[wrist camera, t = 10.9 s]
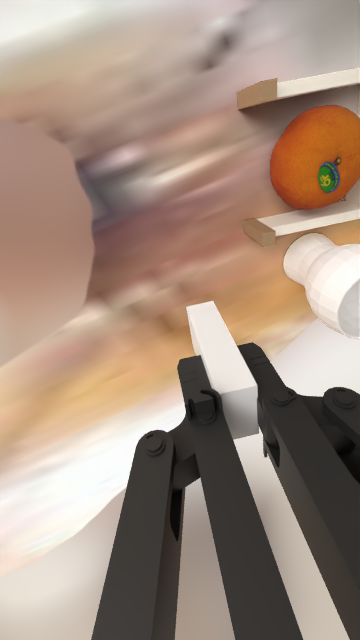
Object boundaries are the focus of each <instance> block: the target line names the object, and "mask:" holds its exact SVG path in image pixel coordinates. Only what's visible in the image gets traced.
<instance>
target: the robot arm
mask: <svg viewBox="0 0 360 640" xmlns="http://www.w3.org/2000/svg"><path fill="white" fill-rule="evenodd" d="M186 309H187V314H188V320H189V326H190V331H191V337H192V342H193V347H194V351H195V354H196V356H193V357H189V358H184V359H180V361H179V364H178V367H177V369H178V374H179V379H180V383H181V388H182V393H183V397H184V402H185V408H186V415H185V418H184V420H183V421H182V423H181V424H180V425H179V426H177V427H176V428H174V429H173V430H171V431H169V432H165V431H162V430H154V431H150V432H148V433H147V434H145V435H144V436H143V437H142V438H141V439H140V440H139V442H138V444H137V446H136V450H135V454H134V459H133V463H132V467H131V471H130V476H129V480H128V484H127V489H126V493H125V498H124V502H123V506H122V510H121V514H120V519H119V523H118V527H117V532H116V536H115V540H114V544H113V549H112V553H111V558H110V562H109V567H108V570H107V575H106V579H105V583H104V587H103V592H102V596H101V600H100V604H99V609H98V613H97V617H96V622H95V626H94V630H93V635H92V639H91V640H175V627H176V613H177V599H178V585H179V571H180V556H181V541H182V528H183V514H184V499H185V487H186V486H188V485H189V484H191V483H192V482H194V481H196V480H197V479H199V478H200V477H201V482H202V487H203V491H204V496H205V501H206V505H207V510H208V515H209V519H210V524H211V528H212V533H213V538H214V542H215V547H216V552H217V556H218V561H219V566H220V570H221V575H222V579H223V584H224V589H225V594H226V598H227V603H228V608H229V612H230V617H231V622H232V626H233V631H234V635H235V640H303V638H302V635H301V632H300V629H299V626H298V624H297V621H296V618H295V615H294V612H293V609H292V606H291V603H290V601H289V598H288V595H287V592H286V589H285V586H284V584H283V581H282V578H281V575H280V572H279V570H278V566H277V564H276V561H275V558H274V555H273V552H272V549H271V547H270V544H269V541H268V538H267V535H266V532H265V530H264V527H263V524H262V521H261V518H260V515H259V512H258V510H257V507H256V504H255V501H254V498H253V496H252V493H251V490H250V487H249V484H248V481H247V478H246V475H245V473H244V470H243V467H242V464H241V461H240V459H239V456H238V453H237V450H236V447H235V444H234V441H233V439H237V438H242V437H246V436H250V435H254V434H258V433H259V427H260V429H261V431H262V434H263V451H264V456H265V457H267V453H268V455H269V457H270V460H271V462H272V464H273V466H274V469H275V471H276V473H277V476H278V478H279V480H280V482H281V484H282V487H283V489H284V491H285V494H286V496H287V498H288V501H289V503H290V505H291V507H292V510H293V512H294V514H295V516H296V519H297V521H298V523H299V526H300V528H301V530H302V532H303V534H304V537H305V539H306V541H307V544H308V546H309V548H310V550H311V553H312V555H313V557H314V560H315V562H316V564H317V566H318V568H319V571H320V573H321V575H322V578H323V580H324V582H325V584H326V587H327V589H328V591H329V593H330V596H331V598H332V600H333V603H334V605H335V607H336V609H337V612H338V614H339V616H340V618H341V621H342V623H343V625H344V628H345V630H346V632H347V634H348V636H349V639H350V640H360V394H358V393H356V392H355V391H353V390H351V389H347V388H344V387H334V388H331V389H328V390H327V391H326V392H325V393H324V396H323V397H316V396H315V397H314V396H303V395H299V394H297V393H296V392H295V391H294V390H292V389H290V388H288V387H286V386H285V384H284V383H283V381H282V380H281V378H280V377H279V375H278V373H277V372H276V370H275V369H274V367H273V366H272V364H271V363H270V361H269V359H268V358H267V357H266V355H265V353H264V352H263V350H262V349H261V348H260V347H259V346H257V345H256V344H254V343H253V342H252V343H248V344H243V345H239V346H236V344H235V342H234V340H233V338H232V336H231V334H230V332H229V330H228V328H227V327H226V325H225V323H224V321H223V319H222V317H221V315H220V313H219V311H218V310H217V308H216V306H215V304H214V302H213V301H210V302H206V303H201V304H197V305H192V306H188V307H186Z"/></svg>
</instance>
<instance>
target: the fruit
mask: <svg viewBox="0 0 360 640" xmlns="http://www.w3.org/2000/svg"><path fill="white" fill-rule="evenodd" d="M270 176H271V182H272V185H273V187H274V189H275V191H276V192H277V194H278V195H279V196H280V197H281V198H282V200H283V201H284V202H285V203H286V204H288V205H290V206H292V207H295V208H298V209H304V210H308V209H316V208H321V207H325V206H328V205H331V204H333V203H335V202H337V201H338V200H340V199H341V198H343V197H344V196H345V195H346V194H347V193H348V192H349V191H350V190H351V188H352V187H353V186H354V185H355V184H356V182H357V181H358V180H359V178H360V118H359V117H358V116H357V115H356V114H355V113H353V112H352V111H350V110H348V109H347V108H343V107H340V106H337V105H327V106H321V107H315V108H312V109H310V110H308V111H306V112H304V113H302V114H301V115H299V116H298V117H296V118H295V119H294V120H293V121H292V122H291V123H290V124H289V125H288V127H287V128H286V130H285V131H284V132H283V134H282V135H281V137H280V139H279V141H278V142H277V143H276V145H275V147H274V149H273V152H272V155H271V160H270Z"/></svg>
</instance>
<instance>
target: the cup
mask: <svg viewBox="0 0 360 640" xmlns="http://www.w3.org/2000/svg"><path fill="white" fill-rule="evenodd" d="M283 266H284V271H285V273H286V275H287V276H288V277H289V278H290V279H291V280H293V281H295V282H297V283H299V284H301V285H303V286H304V287H305V289H306V297H307V299H308V301H309V304H310V306H311V308H312V311H313V313H314V314H315V315H316V316H317V317H318V318H319V319H320V320H321V321H322V322H323V323H324V324H326V326H328V327H329V328H331V329H333V330H335V331H337V332H339V333H341V334H343V335H345V336H348V337H350V338H355V339H360V244H346V245H342V246H337V245H335V244H334V243H333V242H332V241H331V240H330V239H328V238H327V237H326V236H324V235H322V234H319V233H309V234H306V235H304V236H302V237H300V238H298V239H297V240H296V241H295V242H294V243H293V244H292V245H291V246H290V247H289V249H288V250H287V252H286V254H285V257H284V263H283Z"/></svg>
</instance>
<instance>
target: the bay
mask: <svg viewBox="0 0 360 640" xmlns="http://www.w3.org/2000/svg"><path fill="white" fill-rule="evenodd" d="M357 84H360V67H358V68H353V69H348V70H343V71H337V72H332V73H327V74H322V75H316V76H311V77H306V78H301V79H295V80H290V81H285V82H279V83H277V78H276V79H271V80H266V81H260V82H258V83H256V84H254V85H252V86H250V87H247V88H245V89H243V90H241V91H239V92H237V101H238V109H243V108H248V107H253V106H256V105H260V104H263V103H267V102H270V101H274V100H279V99H284V98H289V97H295V96H300V95H305V94H310V93H315V92H321V91H326V90H331V89H336V88H341V87H347V86H352V85H357ZM357 116H358V117H359V118H360V93H359V100H358V108H357ZM356 219H360V178H359V180H358V181H357V182H356V184H355V185H354V186H353V187H352V188H351V190H350V191H349V192H348V193H347V194H346V199H345V201H340V202H336V203H333V204H331V205H328V206H325V207H321V208H316V209H308V210H304V209H302V210H297V211H292V212H287V213H283V214H278V215H273V216H268V217H263V218H259V219H255V218H251V219H247V220H243V230H244V232H245V233H246V234H247V235H248V236H250V237H251V238H252V239H253V240H255V241H256V242H257V243H259V244H260V245H261V246H262V247H264V246H269V245H273V244H275V236H280V235H285V234H289V233H294V232H299V231H304V230H308V229H313V228H318V227H323V226H327V225H332V224H337V223H342V222H347V221H351V220H356Z"/></svg>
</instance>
